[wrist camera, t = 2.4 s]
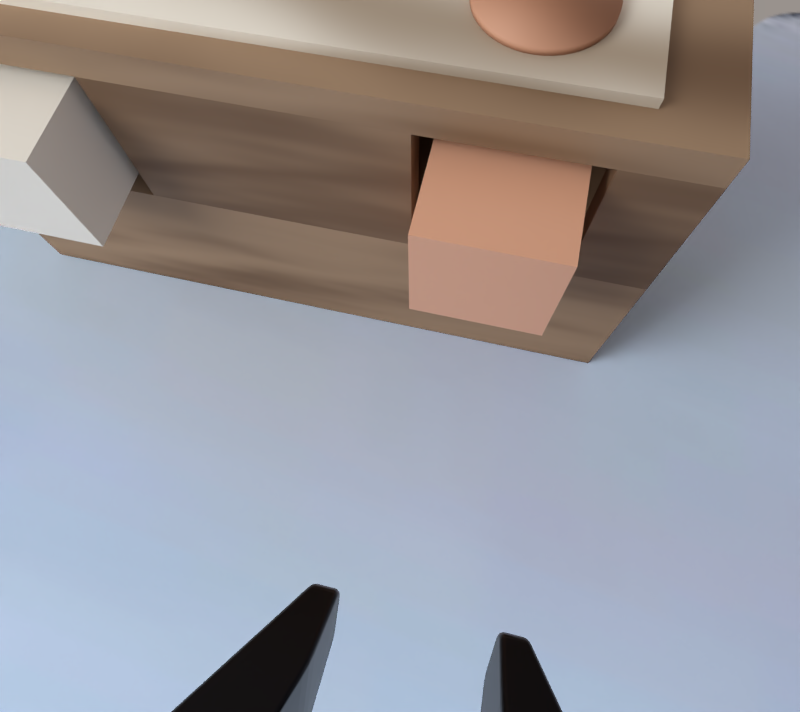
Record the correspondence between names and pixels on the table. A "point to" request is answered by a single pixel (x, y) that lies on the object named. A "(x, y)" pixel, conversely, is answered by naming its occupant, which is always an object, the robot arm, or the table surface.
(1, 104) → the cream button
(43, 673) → the table surface
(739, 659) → the table surface
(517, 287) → the salmon pink cube
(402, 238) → the wooden stand
